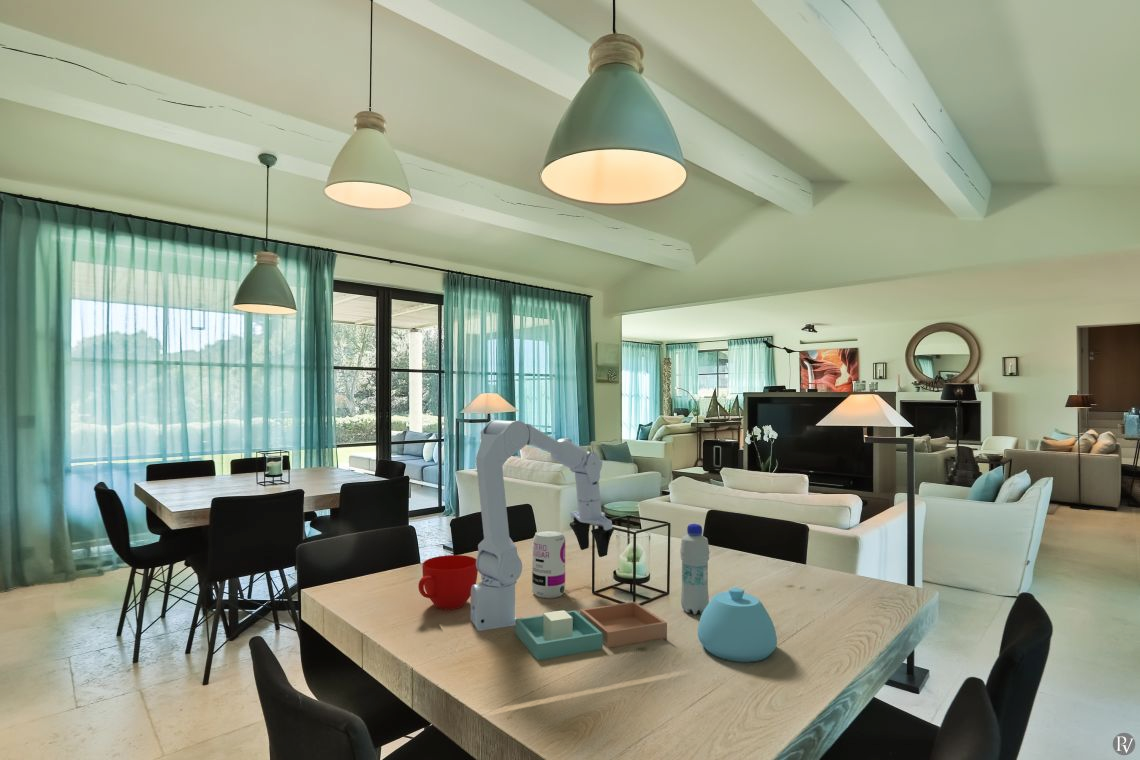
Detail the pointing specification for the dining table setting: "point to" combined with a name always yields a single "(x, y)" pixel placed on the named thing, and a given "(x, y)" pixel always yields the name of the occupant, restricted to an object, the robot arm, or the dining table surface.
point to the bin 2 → (625, 623)
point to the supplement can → (548, 564)
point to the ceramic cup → (448, 580)
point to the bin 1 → (582, 639)
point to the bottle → (694, 570)
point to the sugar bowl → (737, 627)
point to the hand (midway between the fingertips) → (593, 552)
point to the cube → (557, 625)
